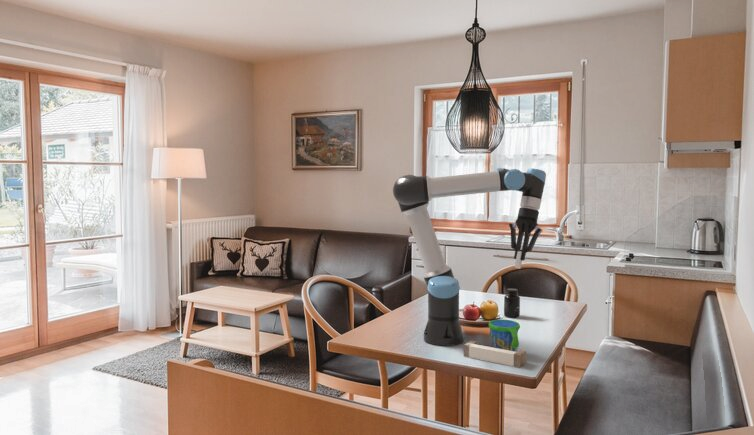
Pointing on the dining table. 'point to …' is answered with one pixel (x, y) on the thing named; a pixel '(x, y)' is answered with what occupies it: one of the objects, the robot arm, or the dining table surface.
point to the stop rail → (495, 354)
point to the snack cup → (504, 334)
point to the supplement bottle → (512, 304)
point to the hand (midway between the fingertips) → (517, 268)
